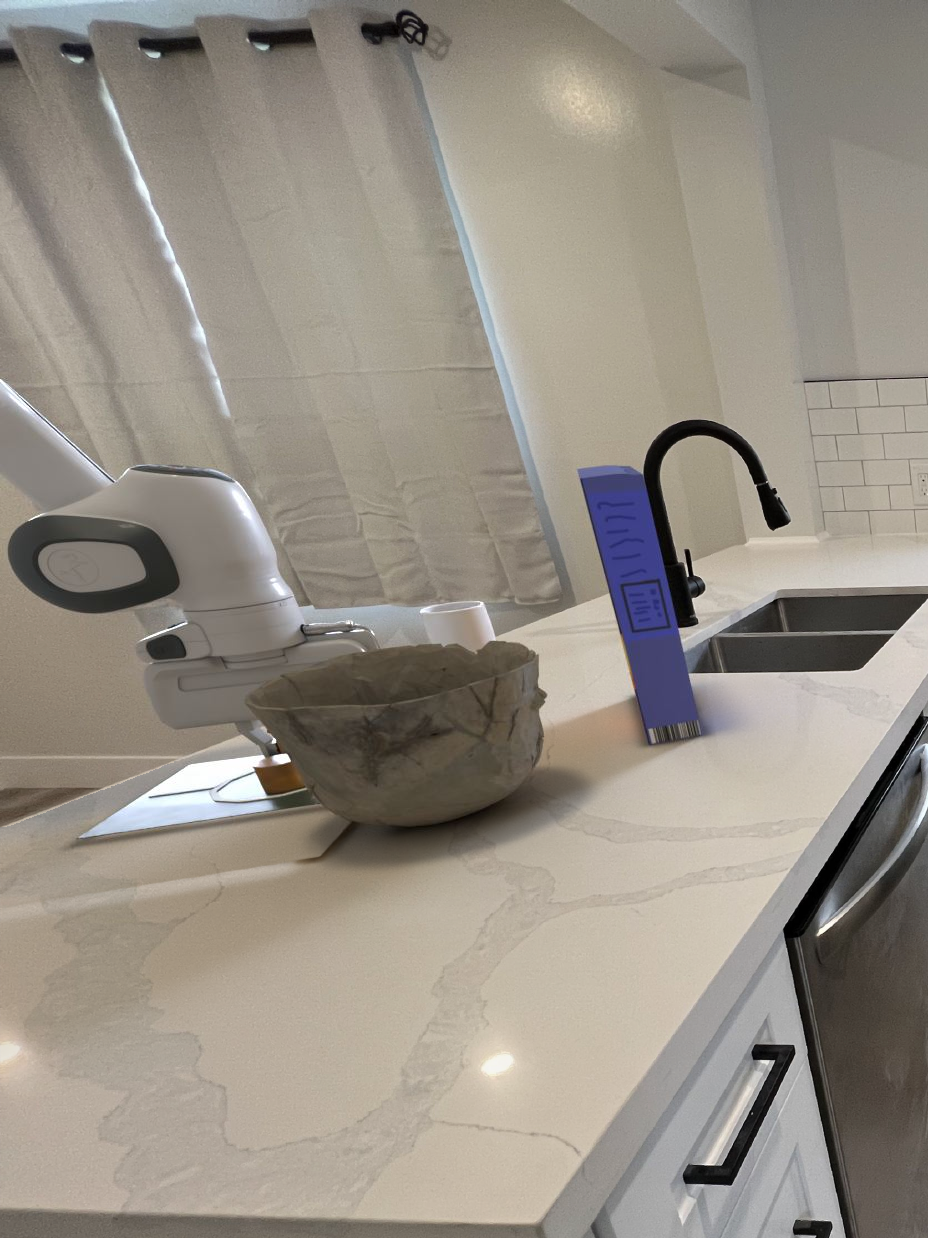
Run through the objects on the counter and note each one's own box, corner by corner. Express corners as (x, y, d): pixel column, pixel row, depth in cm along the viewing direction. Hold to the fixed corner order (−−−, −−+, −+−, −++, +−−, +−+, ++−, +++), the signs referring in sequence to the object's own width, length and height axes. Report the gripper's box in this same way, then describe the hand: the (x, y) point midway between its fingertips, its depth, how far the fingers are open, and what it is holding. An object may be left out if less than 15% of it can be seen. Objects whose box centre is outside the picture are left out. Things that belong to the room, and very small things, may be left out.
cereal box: (636, 699, 118) (576, 466, 105) (682, 691, 120) (629, 463, 108) (649, 747, 100) (579, 476, 88) (703, 737, 103) (642, 472, 90)
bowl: (608, 806, 85) (566, 660, 79) (338, 894, 71) (260, 724, 65) (533, 755, 99) (493, 627, 93) (295, 820, 85) (228, 674, 79)
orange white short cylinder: (257, 796, 88) (244, 769, 87) (274, 782, 92) (262, 756, 91) (303, 789, 90) (291, 763, 88) (319, 776, 93) (307, 750, 92)
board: (80, 848, 81) (74, 837, 80) (193, 772, 98) (189, 763, 98) (332, 810, 87) (328, 801, 86) (397, 745, 104) (394, 737, 104)
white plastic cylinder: (531, 718, 112) (495, 603, 106) (476, 734, 107) (435, 614, 100) (504, 710, 115) (468, 598, 109) (450, 725, 110) (408, 609, 104)
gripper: (378, 612, 95) (422, 729, 101) (148, 634, 89) (209, 757, 95) (358, 624, 90) (405, 747, 96) (111, 648, 84) (177, 778, 90)
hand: (305, 752), depth 95 cm, fingers closed on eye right, 4 cm apart
